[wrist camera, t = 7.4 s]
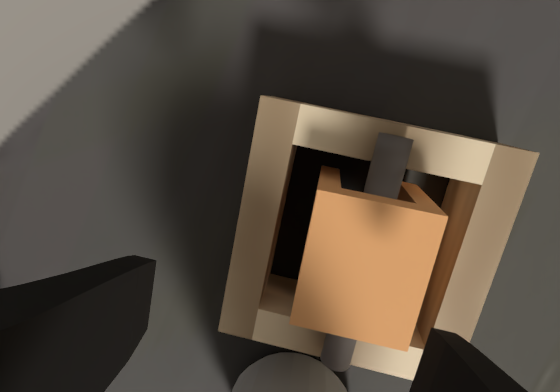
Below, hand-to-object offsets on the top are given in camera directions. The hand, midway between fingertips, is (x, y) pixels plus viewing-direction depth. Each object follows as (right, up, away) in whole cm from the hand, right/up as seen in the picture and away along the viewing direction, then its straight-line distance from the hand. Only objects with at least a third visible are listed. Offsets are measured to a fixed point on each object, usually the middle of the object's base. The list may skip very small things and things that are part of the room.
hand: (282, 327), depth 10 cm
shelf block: (+4, +2, +9) cm, 10 cm away
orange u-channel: (+3, +2, +8) cm, 9 cm away
